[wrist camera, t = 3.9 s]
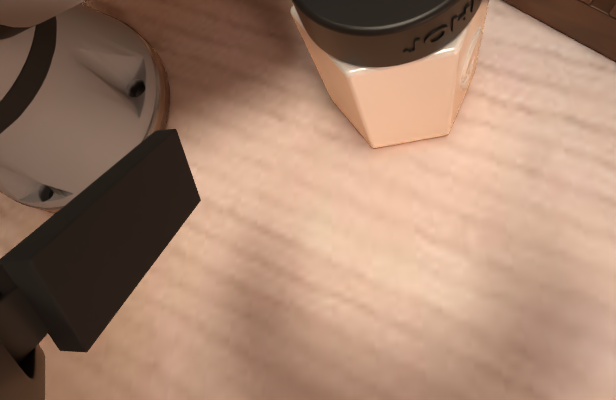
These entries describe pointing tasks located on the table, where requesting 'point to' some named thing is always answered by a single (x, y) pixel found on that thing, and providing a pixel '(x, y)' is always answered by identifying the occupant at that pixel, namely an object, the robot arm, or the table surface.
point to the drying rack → (578, 20)
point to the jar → (394, 61)
